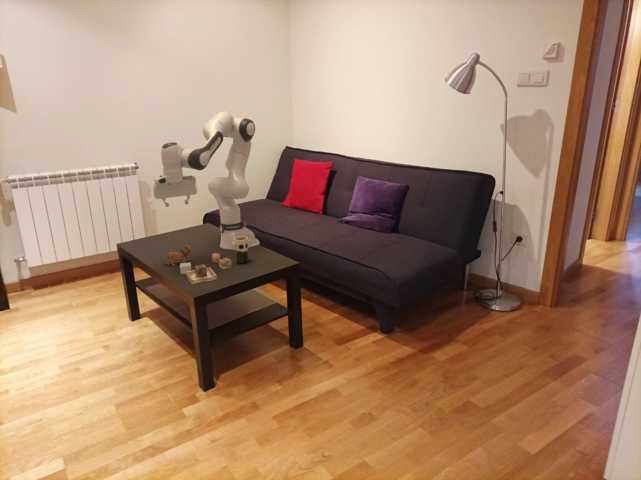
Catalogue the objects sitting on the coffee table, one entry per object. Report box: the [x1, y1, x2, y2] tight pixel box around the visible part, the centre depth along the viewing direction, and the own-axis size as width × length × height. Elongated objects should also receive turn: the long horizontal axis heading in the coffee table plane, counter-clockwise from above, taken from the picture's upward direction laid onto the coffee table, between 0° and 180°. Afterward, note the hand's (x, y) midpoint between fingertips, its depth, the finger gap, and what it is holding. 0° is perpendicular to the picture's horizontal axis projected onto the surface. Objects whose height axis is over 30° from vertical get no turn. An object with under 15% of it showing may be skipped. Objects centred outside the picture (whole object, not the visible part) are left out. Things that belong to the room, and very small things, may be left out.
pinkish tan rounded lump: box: [211, 252, 221, 264], centre depth 252 cm, size 4×4×4 cm
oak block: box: [218, 257, 232, 270], centre depth 244 cm, size 4×4×4 cm
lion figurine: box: [163, 244, 193, 267], centre depth 248 cm, size 15×5×9 cm, turn 120°
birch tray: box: [185, 267, 218, 285], centre depth 231 cm, size 12×12×2 cm
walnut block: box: [194, 263, 208, 278], centre depth 231 cm, size 4×4×5 cm
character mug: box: [231, 236, 251, 264], centre depth 249 cm, size 11×7×13 cm, turn 125°
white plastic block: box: [179, 262, 192, 275], centre depth 238 cm, size 5×5×4 cm
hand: (177, 205), depth 237 cm, fingers open, 8 cm apart
